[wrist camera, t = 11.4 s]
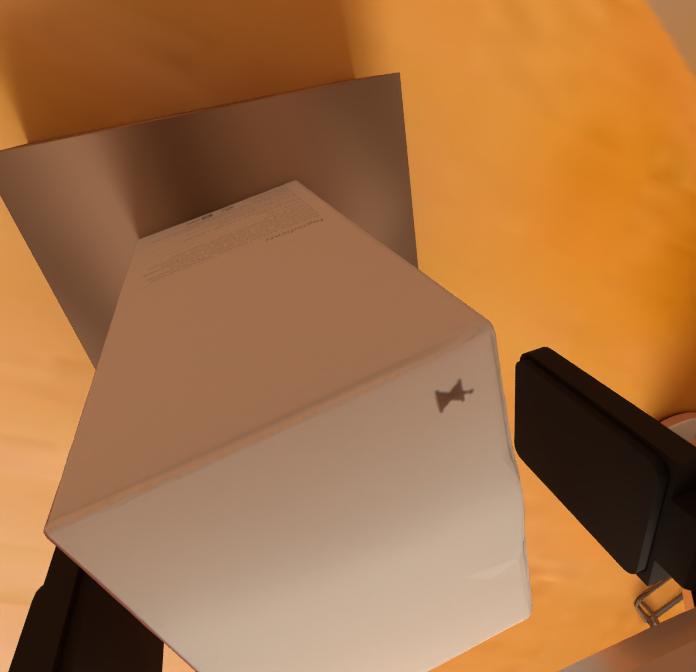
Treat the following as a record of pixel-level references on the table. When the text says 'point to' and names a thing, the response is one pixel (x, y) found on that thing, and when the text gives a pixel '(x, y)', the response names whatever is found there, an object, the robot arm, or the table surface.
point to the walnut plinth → (203, 182)
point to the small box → (296, 451)
